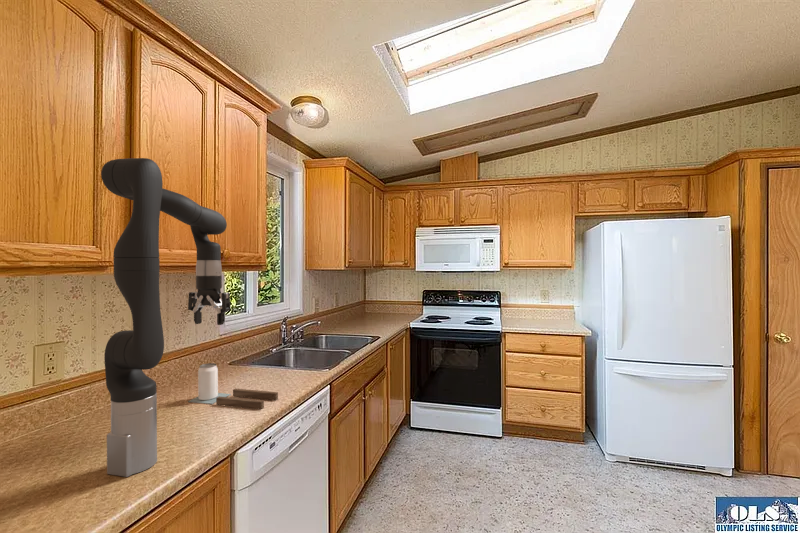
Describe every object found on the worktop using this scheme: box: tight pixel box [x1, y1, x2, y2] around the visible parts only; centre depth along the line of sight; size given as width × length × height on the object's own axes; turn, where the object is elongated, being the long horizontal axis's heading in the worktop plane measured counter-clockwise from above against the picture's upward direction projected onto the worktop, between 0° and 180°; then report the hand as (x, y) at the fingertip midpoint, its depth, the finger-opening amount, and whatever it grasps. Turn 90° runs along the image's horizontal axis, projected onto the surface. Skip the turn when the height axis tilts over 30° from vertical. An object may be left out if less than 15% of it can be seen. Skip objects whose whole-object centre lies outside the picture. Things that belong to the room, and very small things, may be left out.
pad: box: [187, 392, 232, 405], centre depth 139 cm, size 10×10×1 cm
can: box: [197, 362, 219, 400], centre depth 139 cm, size 6×6×12 cm
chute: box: [215, 388, 279, 410], centre depth 135 cm, size 10×18×2 cm, turn 76°
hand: (209, 324), depth 122 cm, fingers open, 8 cm apart
